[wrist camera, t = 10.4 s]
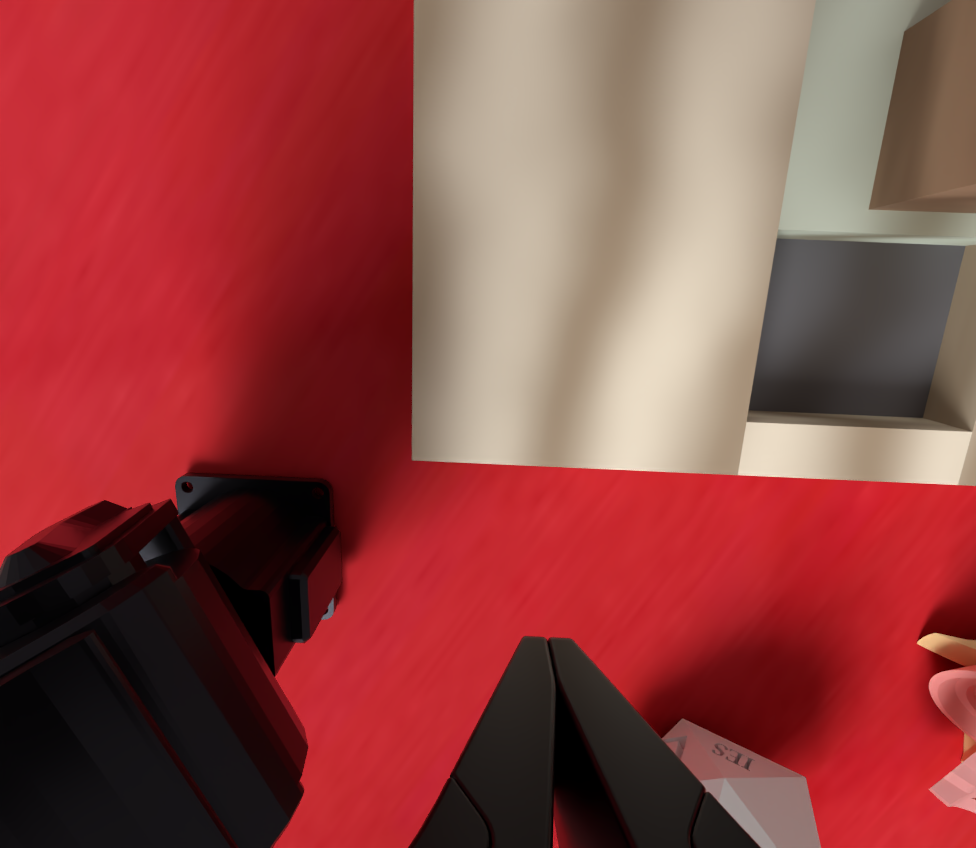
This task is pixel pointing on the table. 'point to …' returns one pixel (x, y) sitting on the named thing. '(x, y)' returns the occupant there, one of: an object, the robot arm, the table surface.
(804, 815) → the die
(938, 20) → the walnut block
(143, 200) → the table surface
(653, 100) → the board
